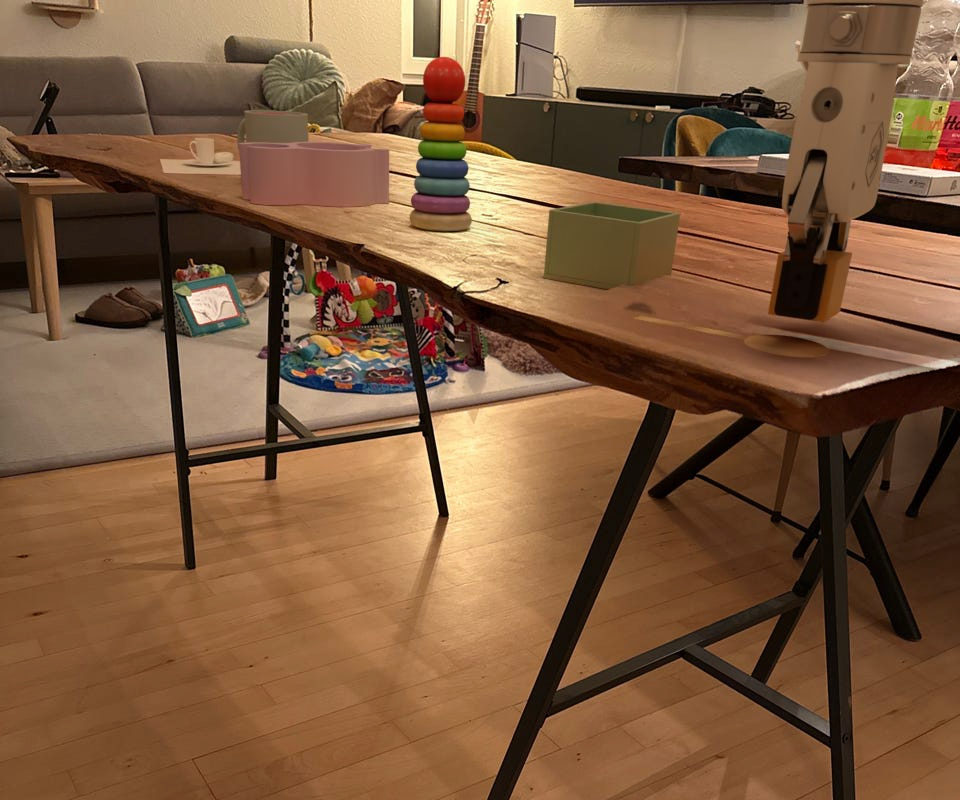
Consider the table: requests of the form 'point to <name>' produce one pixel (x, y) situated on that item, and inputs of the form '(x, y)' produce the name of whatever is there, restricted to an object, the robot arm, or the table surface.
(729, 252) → the table surface
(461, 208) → the stacking toy
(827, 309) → the block
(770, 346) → the spoon
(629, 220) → the open top crate
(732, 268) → the table surface
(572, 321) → the table surface
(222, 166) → the teacup and saucer
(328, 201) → the pink twin-well planter
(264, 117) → the mug
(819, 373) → the table surface
